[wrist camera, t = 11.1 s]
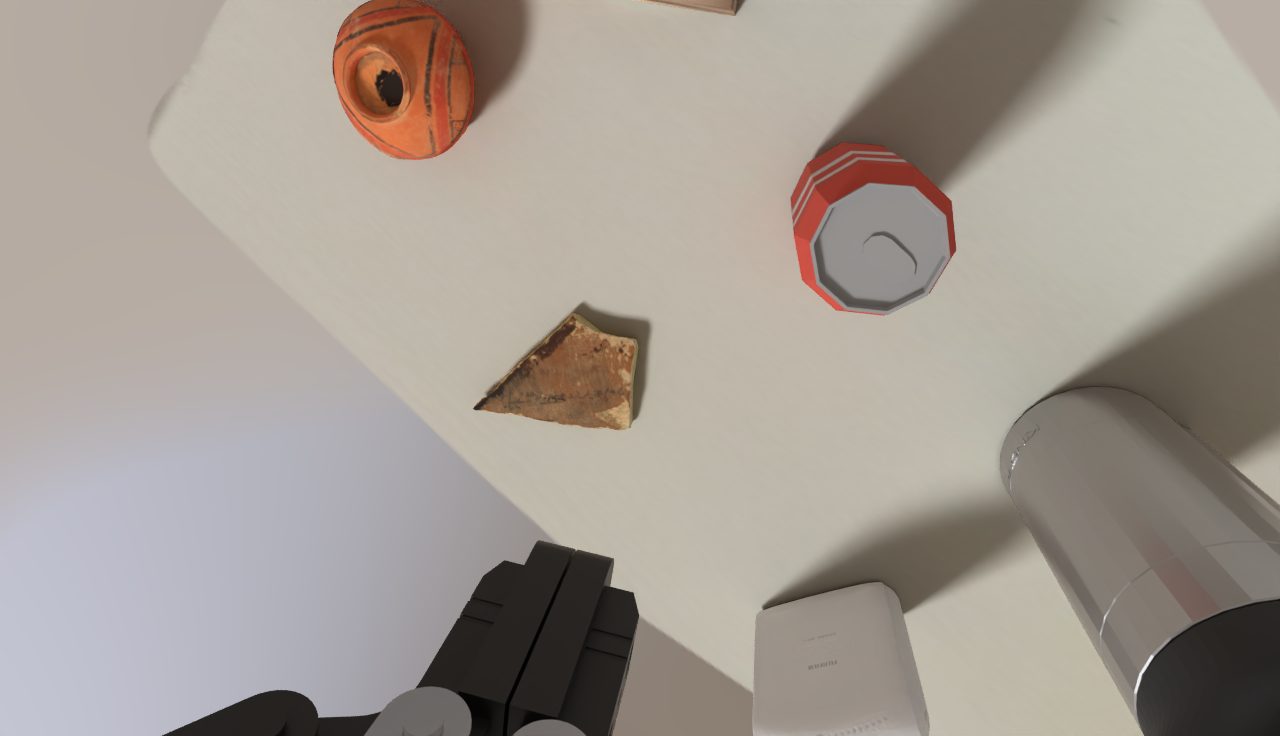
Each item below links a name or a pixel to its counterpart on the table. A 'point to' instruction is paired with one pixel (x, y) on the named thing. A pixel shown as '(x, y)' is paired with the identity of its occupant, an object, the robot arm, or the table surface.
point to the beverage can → (870, 229)
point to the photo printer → (837, 667)
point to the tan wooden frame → (701, 5)
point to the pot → (403, 78)
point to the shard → (572, 379)
